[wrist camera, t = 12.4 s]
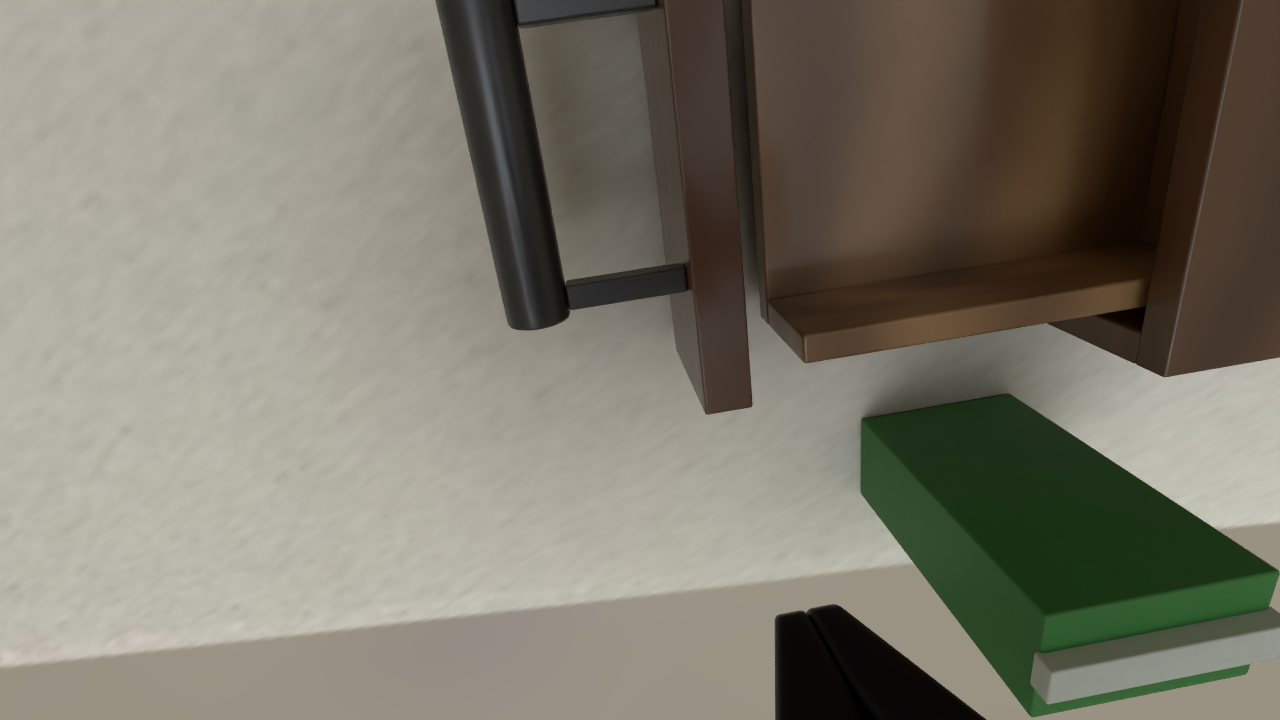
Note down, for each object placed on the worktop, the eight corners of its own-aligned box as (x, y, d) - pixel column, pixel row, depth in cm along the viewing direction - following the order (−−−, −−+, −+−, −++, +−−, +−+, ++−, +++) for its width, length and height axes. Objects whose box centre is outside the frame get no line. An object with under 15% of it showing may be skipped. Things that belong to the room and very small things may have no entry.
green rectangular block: (857, 494, 24) (1041, 739, 15) (857, 419, 23) (1058, 635, 13) (1004, 468, 24) (1273, 692, 15) (1012, 392, 23) (1311, 586, 14)
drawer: (536, 374, 20) (529, 445, 16) (431, -122, 15) (381, -207, 11) (1123, 277, 21) (1261, 321, 17) (1205, -217, 16) (1428, -327, 12)
